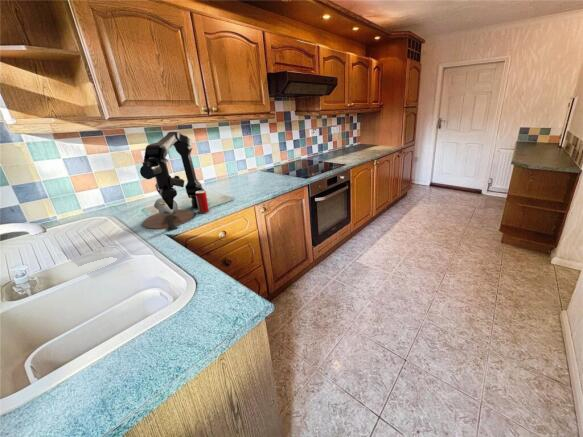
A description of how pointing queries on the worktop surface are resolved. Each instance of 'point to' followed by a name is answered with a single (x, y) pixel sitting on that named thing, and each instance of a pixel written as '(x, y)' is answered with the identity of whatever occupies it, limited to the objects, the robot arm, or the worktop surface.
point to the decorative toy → (165, 207)
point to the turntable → (168, 220)
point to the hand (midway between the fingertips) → (169, 206)
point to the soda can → (202, 201)
